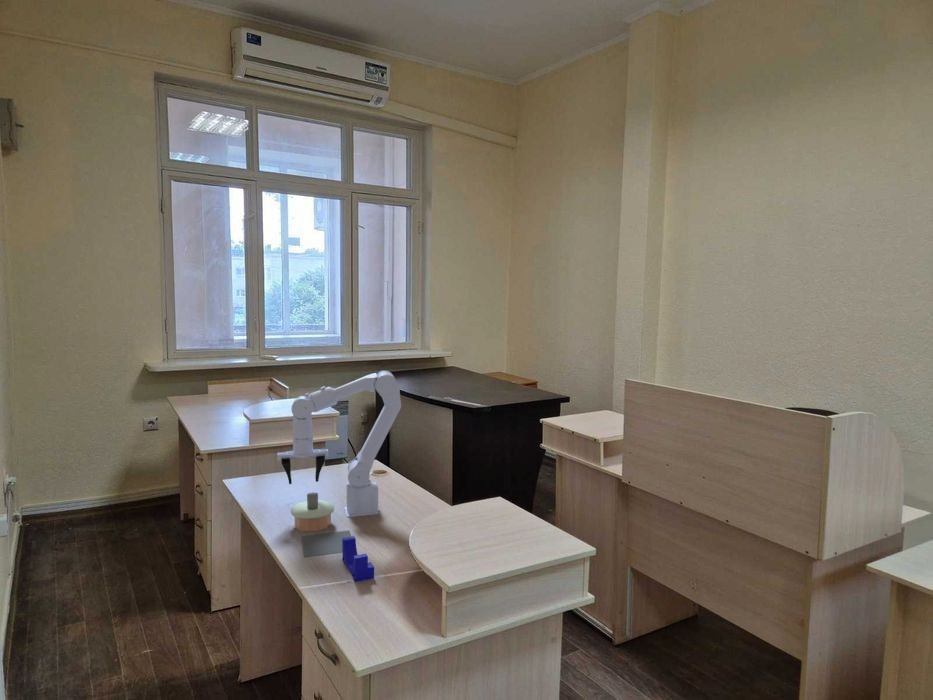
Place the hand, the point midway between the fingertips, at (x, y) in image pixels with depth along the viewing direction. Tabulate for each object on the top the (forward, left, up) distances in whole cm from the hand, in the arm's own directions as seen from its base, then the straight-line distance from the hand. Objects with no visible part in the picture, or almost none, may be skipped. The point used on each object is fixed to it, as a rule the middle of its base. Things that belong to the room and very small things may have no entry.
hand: (303, 481), depth 173 cm
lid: (-2, +8, -6) cm, 10 cm away
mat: (-5, +22, -10) cm, 25 cm away
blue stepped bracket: (-11, +38, -11) cm, 41 cm away
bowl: (-2, +8, -10) cm, 13 cm away
